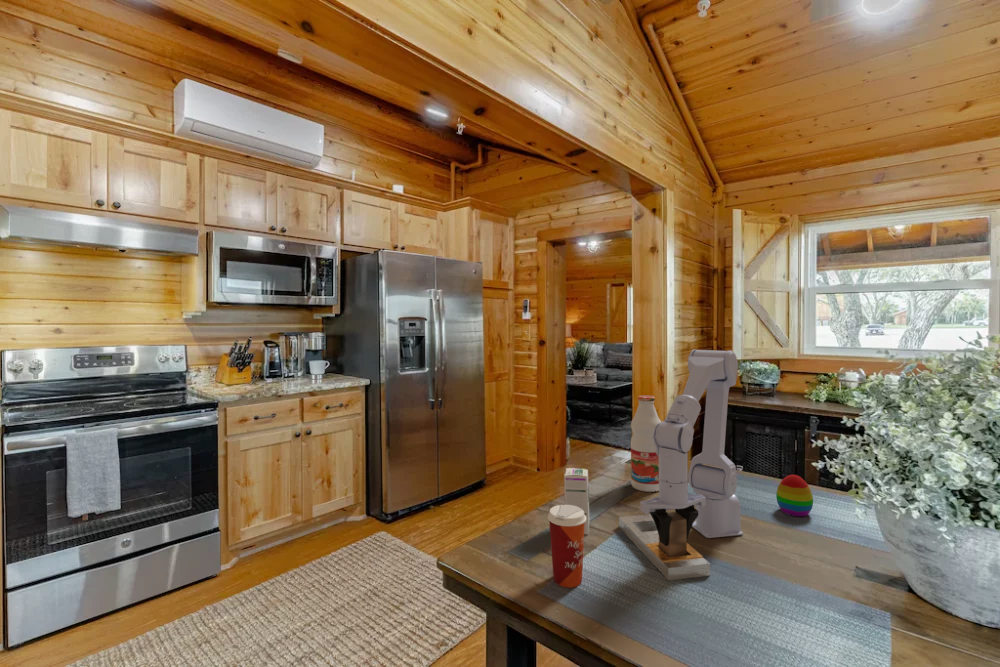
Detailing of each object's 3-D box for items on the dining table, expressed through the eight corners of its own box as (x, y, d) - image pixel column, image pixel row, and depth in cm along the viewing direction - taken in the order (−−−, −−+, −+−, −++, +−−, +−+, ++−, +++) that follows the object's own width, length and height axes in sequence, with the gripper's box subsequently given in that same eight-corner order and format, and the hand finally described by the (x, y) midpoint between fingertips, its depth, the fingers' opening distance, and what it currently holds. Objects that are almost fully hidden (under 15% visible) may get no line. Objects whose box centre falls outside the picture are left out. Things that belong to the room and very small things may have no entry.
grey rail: (652, 523, 117) (652, 513, 117) (710, 575, 93) (709, 562, 93) (619, 526, 116) (618, 516, 115) (668, 580, 92) (668, 567, 92)
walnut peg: (675, 552, 101) (674, 511, 101) (686, 561, 97) (686, 519, 97) (658, 554, 100) (658, 513, 100) (669, 564, 96) (669, 521, 96)
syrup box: (589, 535, 112) (588, 475, 111) (564, 533, 113) (563, 474, 112) (589, 524, 117) (588, 468, 117) (566, 523, 118) (565, 467, 118)
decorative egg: (799, 505, 126) (799, 469, 126) (820, 518, 118) (820, 480, 118) (769, 506, 126) (769, 470, 126) (789, 519, 118) (789, 481, 118)
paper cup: (578, 595, 87) (577, 522, 87) (541, 583, 91) (540, 514, 91) (593, 575, 94) (592, 507, 94) (558, 565, 98) (557, 500, 98)
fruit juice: (666, 484, 144) (665, 395, 143) (659, 494, 136) (658, 400, 135) (635, 479, 149) (634, 393, 148) (627, 489, 141) (626, 397, 140)
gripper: (690, 469, 104) (690, 529, 104) (632, 476, 100) (633, 538, 100) (712, 480, 97) (712, 544, 97) (650, 487, 93) (651, 553, 94)
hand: (673, 542), depth 98 cm, fingers closed on walnut peg, 4 cm apart
